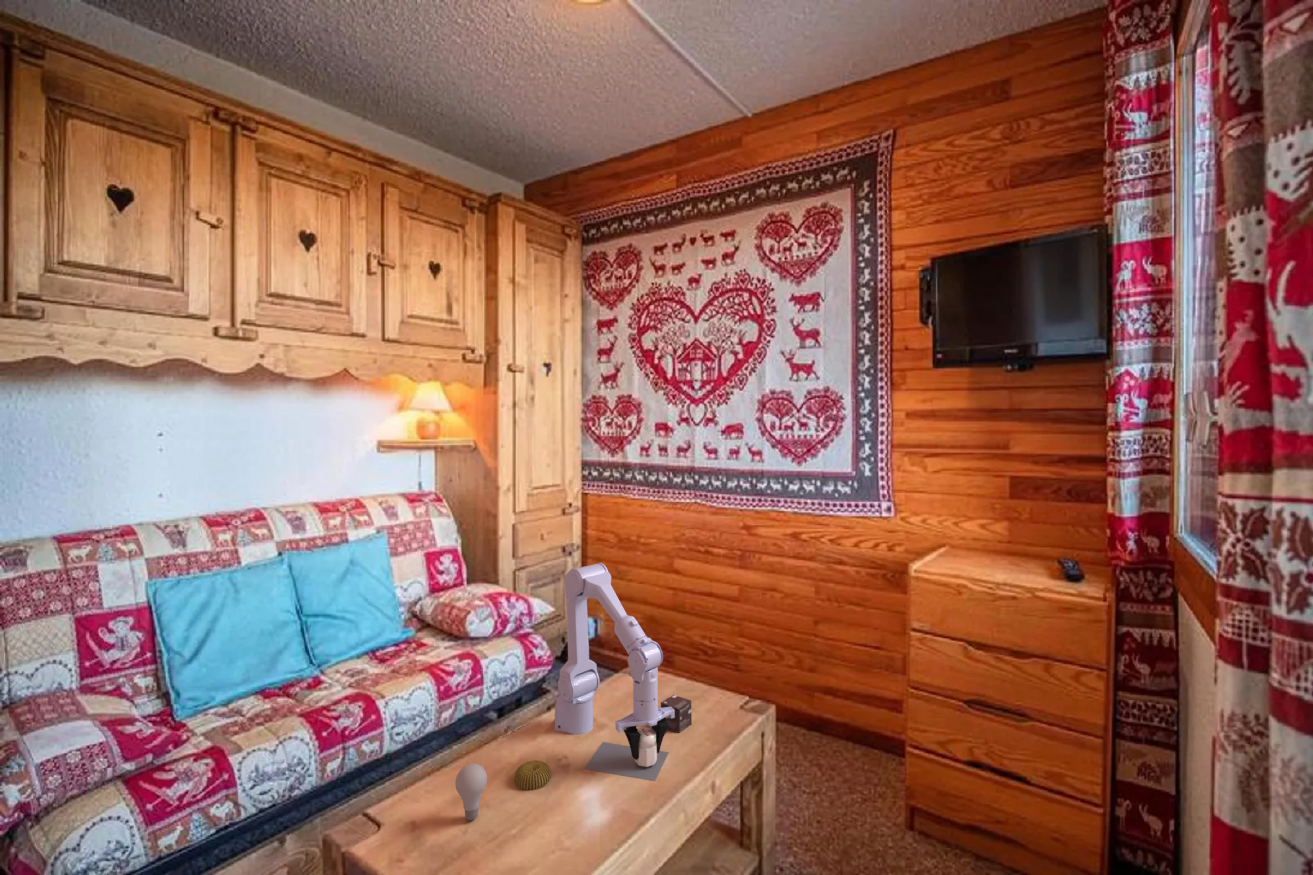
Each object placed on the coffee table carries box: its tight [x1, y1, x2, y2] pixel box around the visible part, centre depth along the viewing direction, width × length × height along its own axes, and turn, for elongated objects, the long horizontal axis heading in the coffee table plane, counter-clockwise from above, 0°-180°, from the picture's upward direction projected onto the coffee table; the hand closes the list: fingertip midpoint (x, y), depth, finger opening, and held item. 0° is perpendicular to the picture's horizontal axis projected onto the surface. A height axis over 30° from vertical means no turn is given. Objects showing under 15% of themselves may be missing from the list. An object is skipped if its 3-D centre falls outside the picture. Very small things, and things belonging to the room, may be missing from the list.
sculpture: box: [513, 760, 552, 791], centre depth 133 cm, size 8×4×8 cm
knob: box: [635, 727, 657, 768], centre depth 139 cm, size 5×5×7 cm
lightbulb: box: [454, 763, 488, 821], centre depth 121 cm, size 6×6×11 cm
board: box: [583, 741, 670, 782], centre depth 140 cm, size 17×12×1 cm
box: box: [660, 694, 693, 734], centre depth 156 cm, size 6×6×7 cm
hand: (645, 754), depth 139 cm, fingers open, 5 cm apart
